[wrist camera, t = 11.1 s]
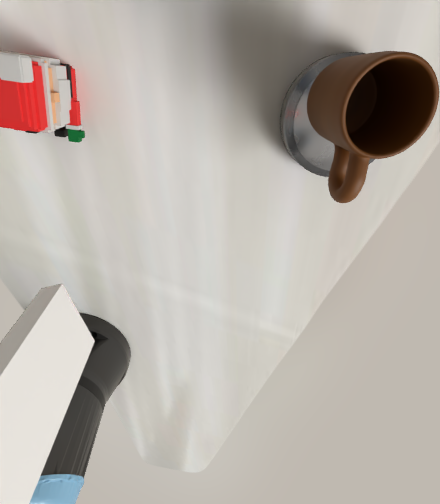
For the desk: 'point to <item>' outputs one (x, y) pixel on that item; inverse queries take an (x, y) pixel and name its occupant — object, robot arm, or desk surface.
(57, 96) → the figurine
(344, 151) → the mug
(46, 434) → the robot arm
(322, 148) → the grey metal dish
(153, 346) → the desk surface
